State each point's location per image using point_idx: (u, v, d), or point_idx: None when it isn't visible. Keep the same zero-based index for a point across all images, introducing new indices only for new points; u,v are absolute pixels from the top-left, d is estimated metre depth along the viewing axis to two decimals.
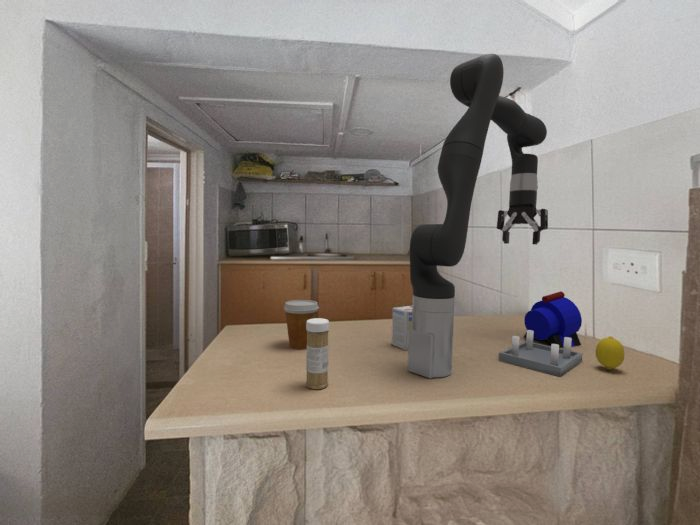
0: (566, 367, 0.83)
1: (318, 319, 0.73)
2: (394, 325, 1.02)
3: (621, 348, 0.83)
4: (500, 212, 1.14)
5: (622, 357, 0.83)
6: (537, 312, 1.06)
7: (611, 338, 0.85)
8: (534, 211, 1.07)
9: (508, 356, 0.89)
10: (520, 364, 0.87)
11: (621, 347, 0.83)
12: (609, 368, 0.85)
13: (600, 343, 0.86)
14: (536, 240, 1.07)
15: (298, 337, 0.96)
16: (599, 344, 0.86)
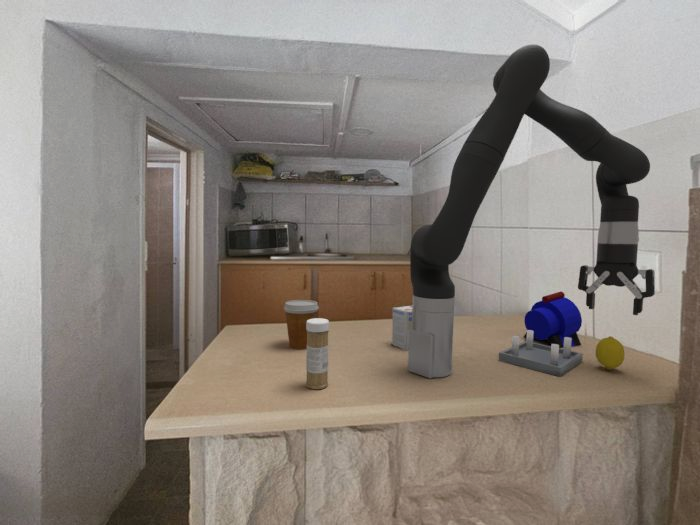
0: (566, 367, 0.83)
1: (318, 319, 0.73)
2: (394, 325, 1.02)
3: (621, 348, 0.83)
4: (583, 268, 0.88)
5: (622, 357, 0.83)
6: (537, 312, 1.06)
7: (611, 338, 0.85)
8: (635, 272, 0.81)
9: (508, 356, 0.89)
10: (520, 364, 0.87)
11: (621, 347, 0.83)
12: (609, 368, 0.85)
13: (600, 343, 0.86)
14: (638, 310, 0.81)
15: (298, 337, 0.96)
16: (599, 344, 0.86)
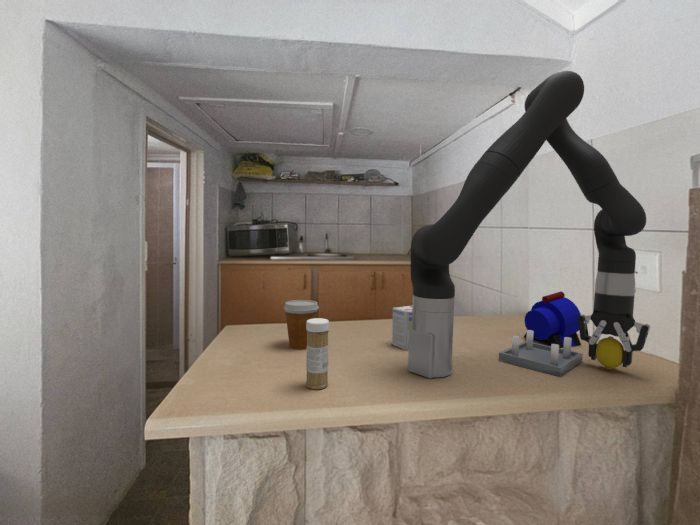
0: (566, 367, 0.83)
1: (318, 319, 0.73)
2: (394, 325, 1.02)
3: (621, 348, 0.83)
4: (581, 318, 0.89)
5: (622, 357, 0.83)
6: (537, 312, 1.06)
7: (611, 338, 0.85)
8: (632, 324, 0.82)
9: (508, 356, 0.89)
10: (520, 364, 0.87)
11: (621, 347, 0.83)
12: (609, 368, 0.85)
13: (600, 343, 0.86)
14: (628, 362, 0.83)
15: (298, 337, 0.96)
16: (599, 344, 0.86)
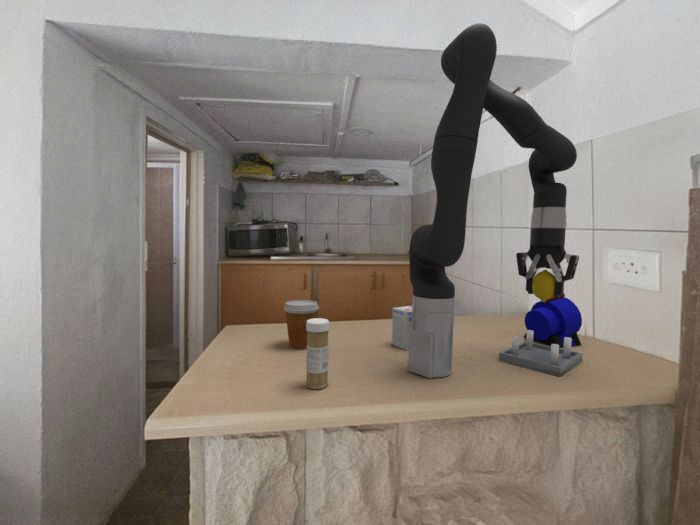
0: (566, 367, 0.83)
1: (318, 319, 0.73)
2: (394, 325, 1.02)
3: (553, 279, 0.88)
4: (519, 255, 0.93)
5: (554, 288, 0.88)
6: (537, 312, 1.06)
7: (545, 271, 0.89)
8: (562, 255, 0.86)
9: (508, 356, 0.89)
10: (520, 364, 0.87)
11: (553, 278, 0.88)
12: (543, 300, 0.90)
13: (535, 276, 0.90)
14: (559, 292, 0.87)
15: (298, 337, 0.96)
16: (534, 277, 0.90)
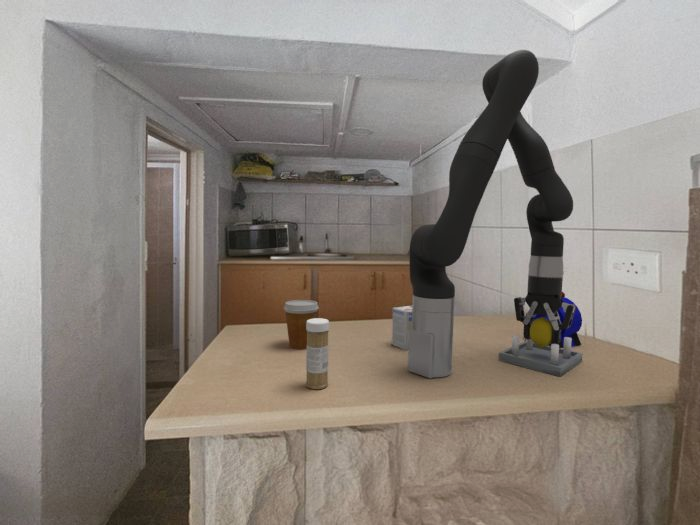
0: (566, 367, 0.83)
1: (318, 319, 0.73)
2: (394, 325, 1.02)
3: (551, 327, 0.89)
4: (516, 300, 0.94)
5: (551, 335, 0.88)
6: None
7: (542, 318, 0.90)
8: (559, 304, 0.87)
9: (508, 356, 0.89)
10: (520, 364, 0.87)
11: (551, 326, 0.89)
12: (541, 346, 0.90)
13: (533, 323, 0.91)
14: (556, 340, 0.88)
15: (298, 337, 0.96)
16: (532, 324, 0.91)
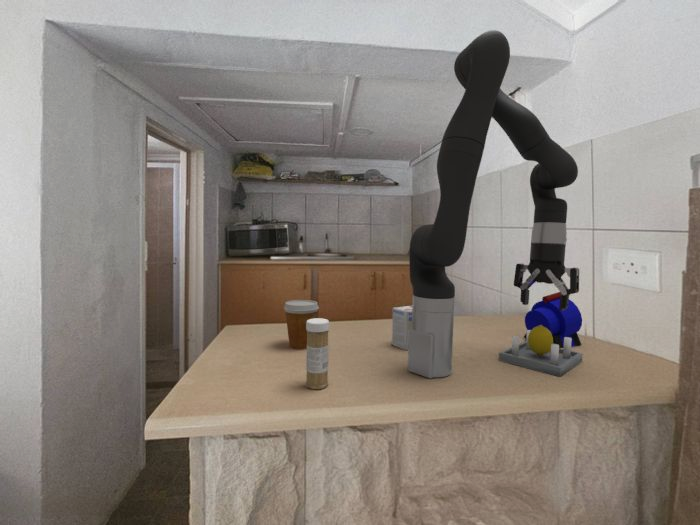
0: (566, 367, 0.83)
1: (318, 319, 0.73)
2: (394, 325, 1.02)
3: (549, 336, 0.89)
4: (518, 266, 0.93)
5: (550, 344, 0.89)
6: (537, 312, 1.06)
7: (541, 327, 0.90)
8: (562, 270, 0.86)
9: (508, 356, 0.89)
10: (520, 364, 0.87)
11: (549, 335, 0.89)
12: (540, 355, 0.91)
13: (531, 332, 0.91)
14: (564, 306, 0.86)
15: (298, 337, 0.96)
16: (530, 333, 0.91)
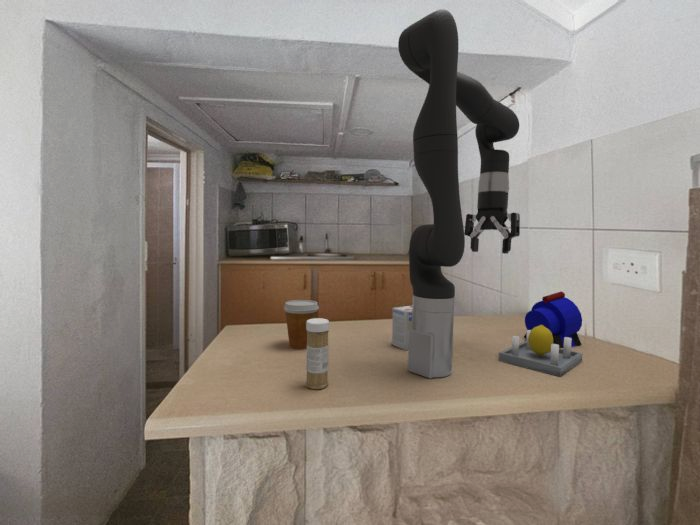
0: (566, 367, 0.83)
1: (318, 319, 0.73)
2: (394, 325, 1.02)
3: (550, 335, 0.89)
4: (468, 216, 1.01)
5: None
6: (537, 312, 1.06)
7: (541, 326, 0.91)
8: (504, 215, 0.93)
9: (508, 356, 0.89)
10: (520, 364, 0.87)
11: (550, 334, 0.89)
12: (540, 355, 0.91)
13: (532, 331, 0.91)
14: (506, 248, 0.93)
15: (298, 337, 0.96)
16: (531, 332, 0.91)
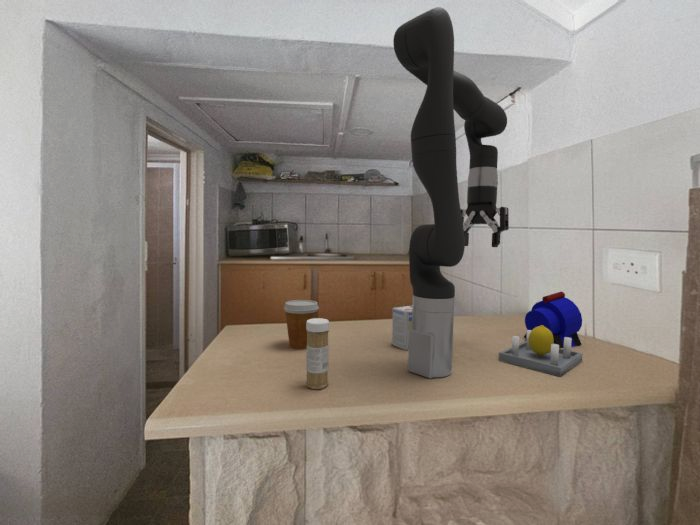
0: (566, 367, 0.83)
1: (318, 319, 0.73)
2: (394, 325, 1.02)
3: (550, 336, 0.89)
4: None
5: None
6: (538, 312, 1.06)
7: (542, 327, 0.90)
8: (493, 210, 0.95)
9: (508, 356, 0.89)
10: (520, 364, 0.87)
11: (550, 335, 0.89)
12: (540, 355, 0.91)
13: (532, 331, 0.91)
14: (496, 242, 0.95)
15: (298, 337, 0.96)
16: (531, 332, 0.91)
